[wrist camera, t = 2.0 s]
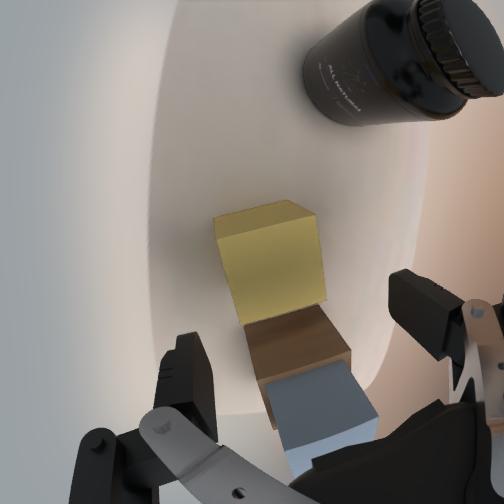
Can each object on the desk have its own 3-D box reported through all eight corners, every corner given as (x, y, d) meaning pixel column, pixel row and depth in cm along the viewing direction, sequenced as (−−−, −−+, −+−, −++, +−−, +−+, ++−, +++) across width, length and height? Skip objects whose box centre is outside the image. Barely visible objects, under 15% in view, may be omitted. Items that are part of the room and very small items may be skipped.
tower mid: (265, 384, 15) (284, 451, 11) (342, 359, 16) (379, 416, 11) (277, 425, 17) (294, 481, 12) (343, 404, 17) (370, 454, 13)
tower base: (243, 325, 21) (256, 380, 15) (318, 304, 21) (351, 349, 16) (259, 377, 23) (273, 430, 17) (323, 358, 23) (349, 404, 18)
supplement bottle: (287, 104, 16) (407, 39, 5) (314, 27, 14) (414, -61, 3) (373, 143, 18) (517, 152, 6) (392, 69, 16) (515, 38, 5)
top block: (213, 218, 18) (216, 239, 13) (287, 199, 18) (315, 214, 13) (232, 285, 20) (240, 325, 15) (299, 267, 20) (326, 300, 15)
